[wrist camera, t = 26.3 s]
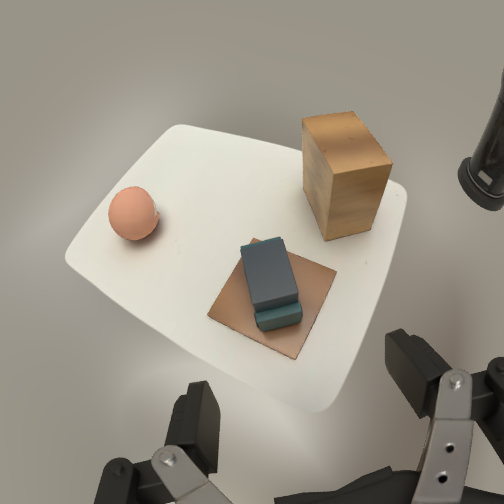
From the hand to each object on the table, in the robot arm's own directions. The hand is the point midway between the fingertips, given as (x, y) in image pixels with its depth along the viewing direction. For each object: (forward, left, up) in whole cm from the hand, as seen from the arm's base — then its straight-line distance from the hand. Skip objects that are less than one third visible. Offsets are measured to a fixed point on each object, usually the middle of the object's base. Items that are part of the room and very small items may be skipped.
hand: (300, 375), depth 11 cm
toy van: (-3, -11, -20) cm, 23 cm away
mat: (-3, -11, -21) cm, 24 cm away
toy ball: (+9, -31, -21) cm, 38 cm away
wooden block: (-17, -18, -21) cm, 32 cm away
